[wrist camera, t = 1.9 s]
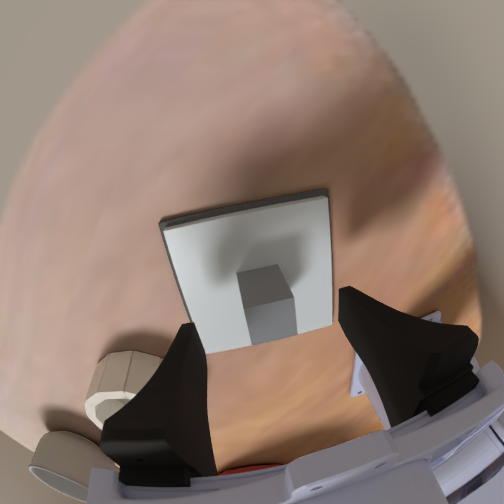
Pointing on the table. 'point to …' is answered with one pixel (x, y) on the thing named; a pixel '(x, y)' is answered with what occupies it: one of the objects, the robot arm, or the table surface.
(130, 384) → the bowl
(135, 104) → the table surface
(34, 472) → the teacup
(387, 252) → the table surface
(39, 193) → the table surface
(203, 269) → the lid
